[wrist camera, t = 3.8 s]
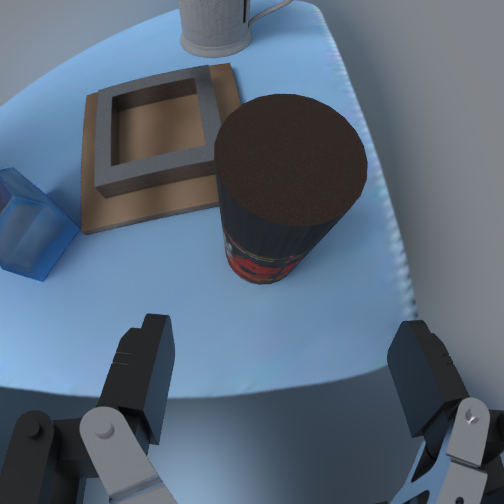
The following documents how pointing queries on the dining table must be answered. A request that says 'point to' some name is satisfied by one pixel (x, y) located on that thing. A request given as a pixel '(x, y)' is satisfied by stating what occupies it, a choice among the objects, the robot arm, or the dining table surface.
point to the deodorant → (283, 181)
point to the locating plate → (153, 146)
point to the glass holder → (217, 26)
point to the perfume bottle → (30, 227)
